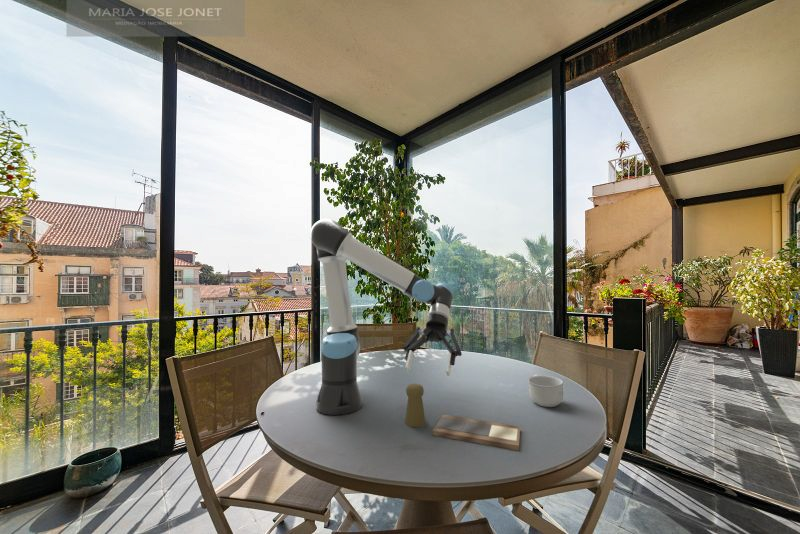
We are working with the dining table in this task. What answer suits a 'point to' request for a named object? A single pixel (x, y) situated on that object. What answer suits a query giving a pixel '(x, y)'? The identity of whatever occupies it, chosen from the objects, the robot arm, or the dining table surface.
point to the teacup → (546, 390)
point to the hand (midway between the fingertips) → (426, 371)
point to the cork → (415, 406)
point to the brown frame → (478, 431)
